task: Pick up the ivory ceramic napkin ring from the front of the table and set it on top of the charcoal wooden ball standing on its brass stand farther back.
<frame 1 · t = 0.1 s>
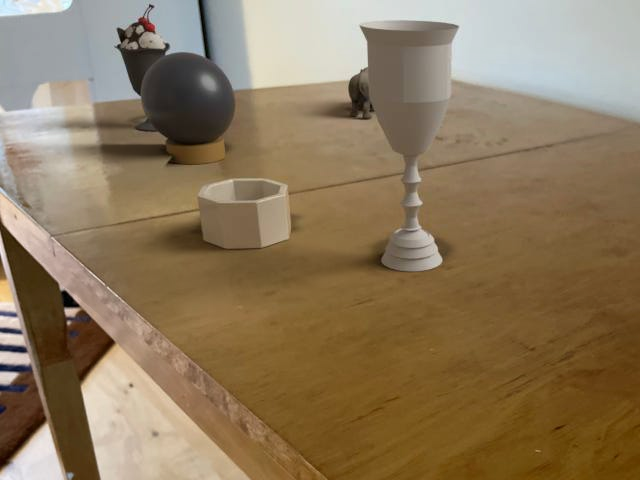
rhino figurine: (367, 111, 118), on the table
chalice: (412, 262, 65), on the table
ring: (248, 234, 69), on the table
sundae: (156, 128, 104), on the table
ball: (197, 157, 91), on the table
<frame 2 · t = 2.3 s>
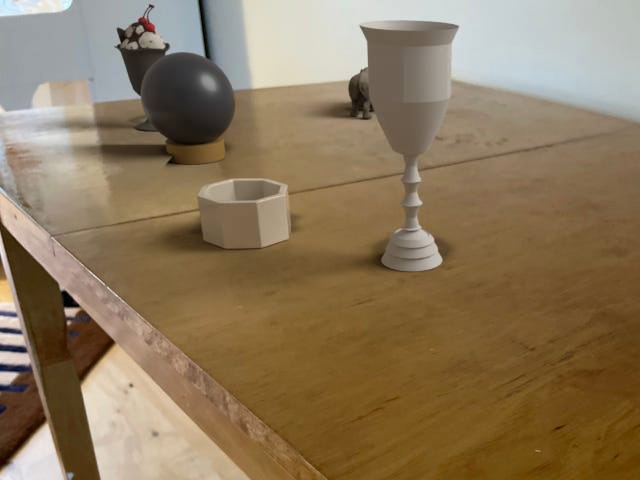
nothing on the table moved.
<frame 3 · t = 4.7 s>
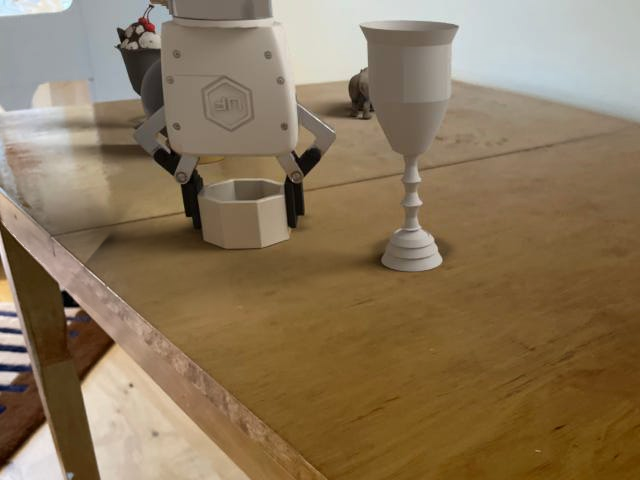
hand: (247, 222, 68), 1 cm above the table, tool pointing down, fingers closed on ring, 7 cm apart
ring: (248, 234, 69), on the table, touching gripper
everything else where it was.
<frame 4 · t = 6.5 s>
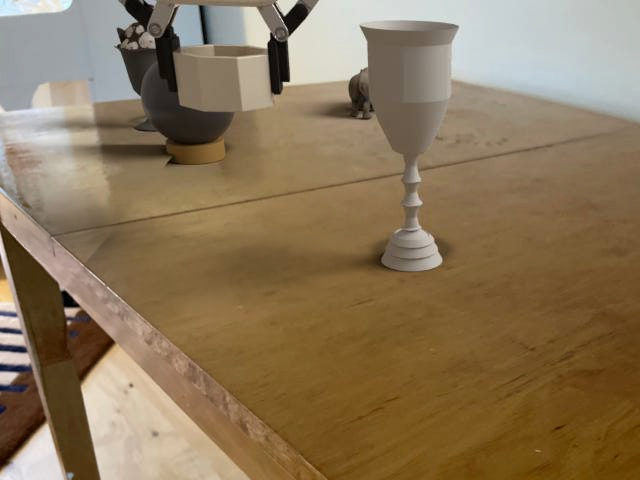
hand: (227, 89, 63), 12 cm above the table, tool pointing down, fingers closed on ring, 7 cm apart
ring: (229, 102, 64), point 11 cm above the table, touching gripper
everything else where it was.
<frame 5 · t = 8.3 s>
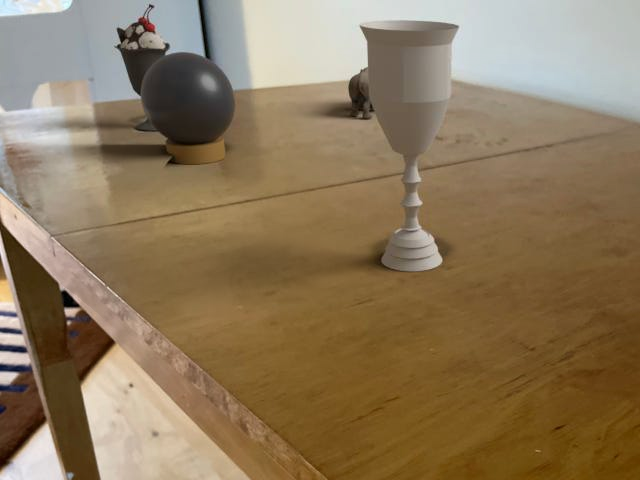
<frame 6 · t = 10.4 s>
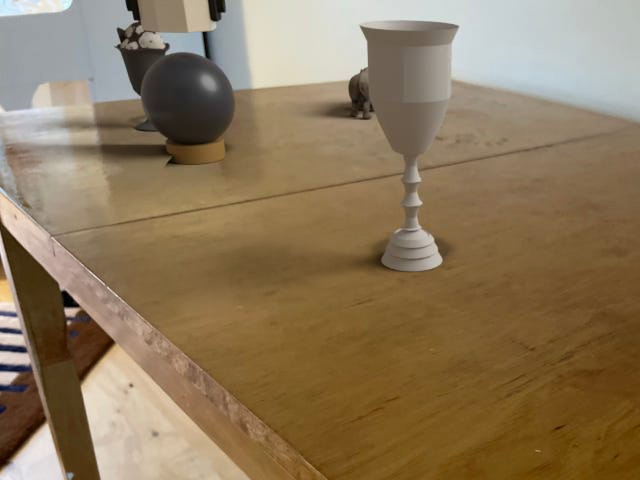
hand: (178, 18, 84), 15 cm above the table, tool pointing down, fingers closed on ring, 7 cm apart
ring: (180, 28, 84), point 14 cm above the table, touching gripper
everything else where it was.
when the fingers open (12 cm above the table, at t = 12.0 s): ring stays where it is, resting on ball.
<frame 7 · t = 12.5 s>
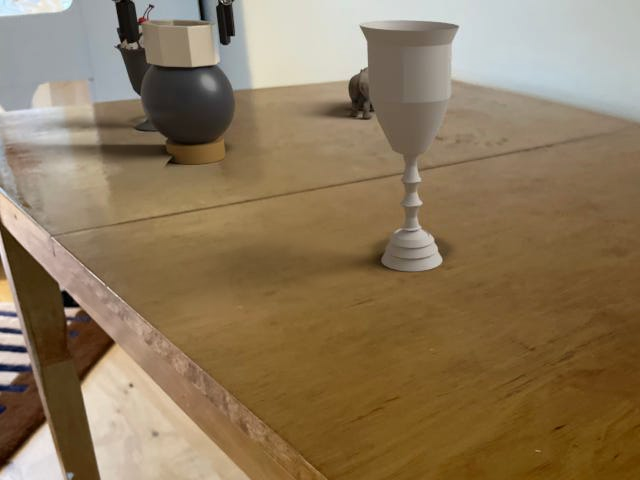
hand: (180, 42, 85), 12 cm above the table, tool pointing down, fingers open, 9 cm apart
ring: (184, 62, 86), point 10 cm above the table, touching ball
everything else where it was.
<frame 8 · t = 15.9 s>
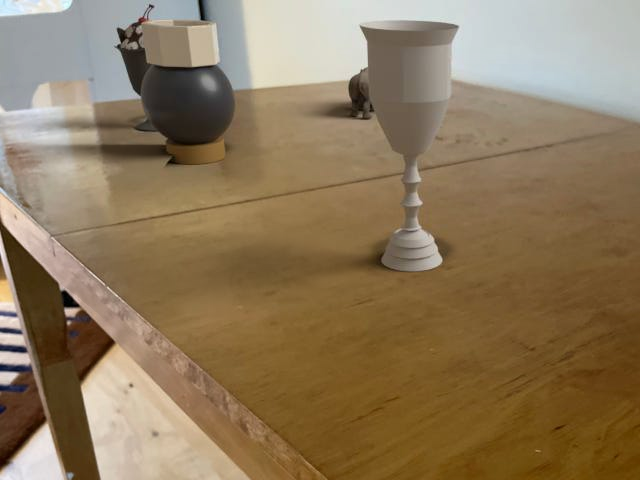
nothing on the table moved.
at the end: ring 0.1 cm off-centre on the ball, point 10.5 cm above the ball's base; ring tilted 1° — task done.
